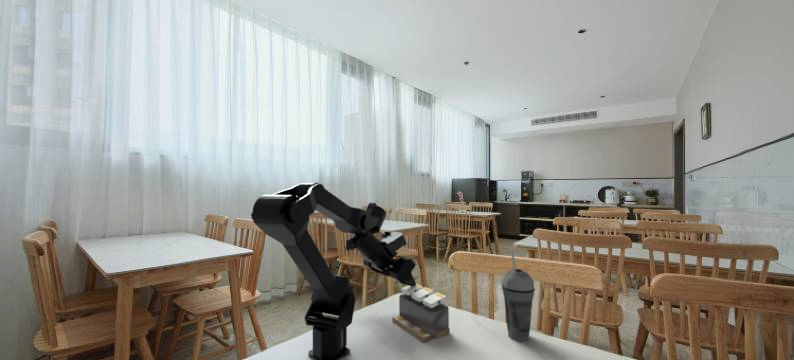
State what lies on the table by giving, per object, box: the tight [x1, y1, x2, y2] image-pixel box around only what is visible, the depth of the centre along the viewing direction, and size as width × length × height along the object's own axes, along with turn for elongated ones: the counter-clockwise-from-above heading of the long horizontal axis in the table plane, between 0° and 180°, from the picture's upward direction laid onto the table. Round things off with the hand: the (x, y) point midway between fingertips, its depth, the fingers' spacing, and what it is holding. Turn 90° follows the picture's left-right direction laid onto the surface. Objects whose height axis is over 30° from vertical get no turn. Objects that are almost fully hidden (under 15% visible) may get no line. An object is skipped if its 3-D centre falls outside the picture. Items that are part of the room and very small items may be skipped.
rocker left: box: [400, 283, 424, 295], centre depth 81 cm, size 5×3×1 cm
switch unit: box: [391, 293, 451, 343], centre depth 76 cm, size 8×13×6 cm, turn 34°
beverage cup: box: [501, 250, 536, 342], centre depth 71 cm, size 7×7×20 cm
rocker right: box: [422, 291, 447, 308], centre depth 73 cm, size 5×3×1 cm
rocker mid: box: [411, 286, 435, 302], centre depth 77 cm, size 5×3×1 cm
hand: (405, 281), depth 86 cm, fingers open, 8 cm apart
